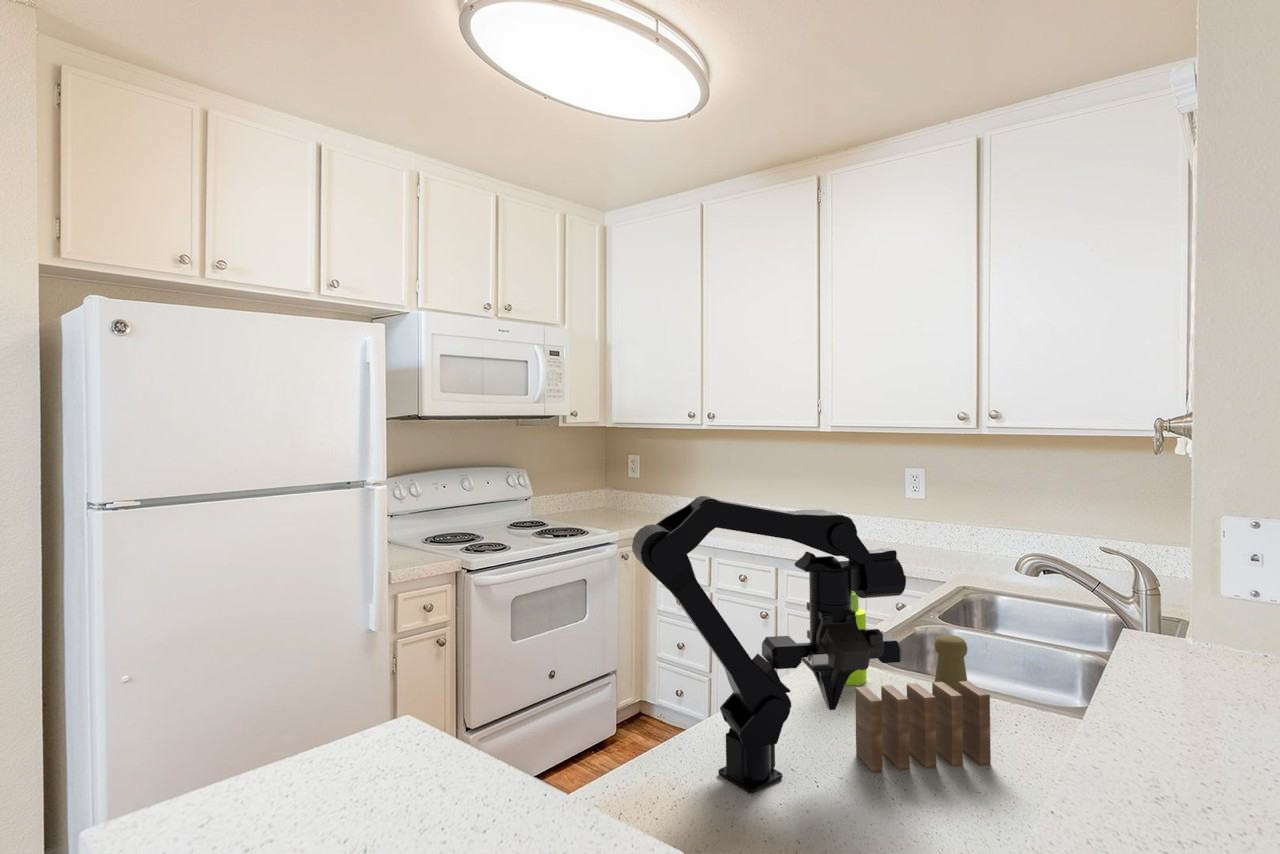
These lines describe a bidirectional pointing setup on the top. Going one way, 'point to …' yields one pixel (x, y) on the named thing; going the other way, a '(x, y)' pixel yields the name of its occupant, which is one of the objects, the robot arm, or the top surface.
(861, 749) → the tile
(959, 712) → the tile
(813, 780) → the top surface
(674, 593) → the robot arm
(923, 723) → the tile
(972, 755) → the tile
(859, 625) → the soap dispenser
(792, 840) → the top surface
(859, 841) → the top surface
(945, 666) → the cork
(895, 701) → the tile
